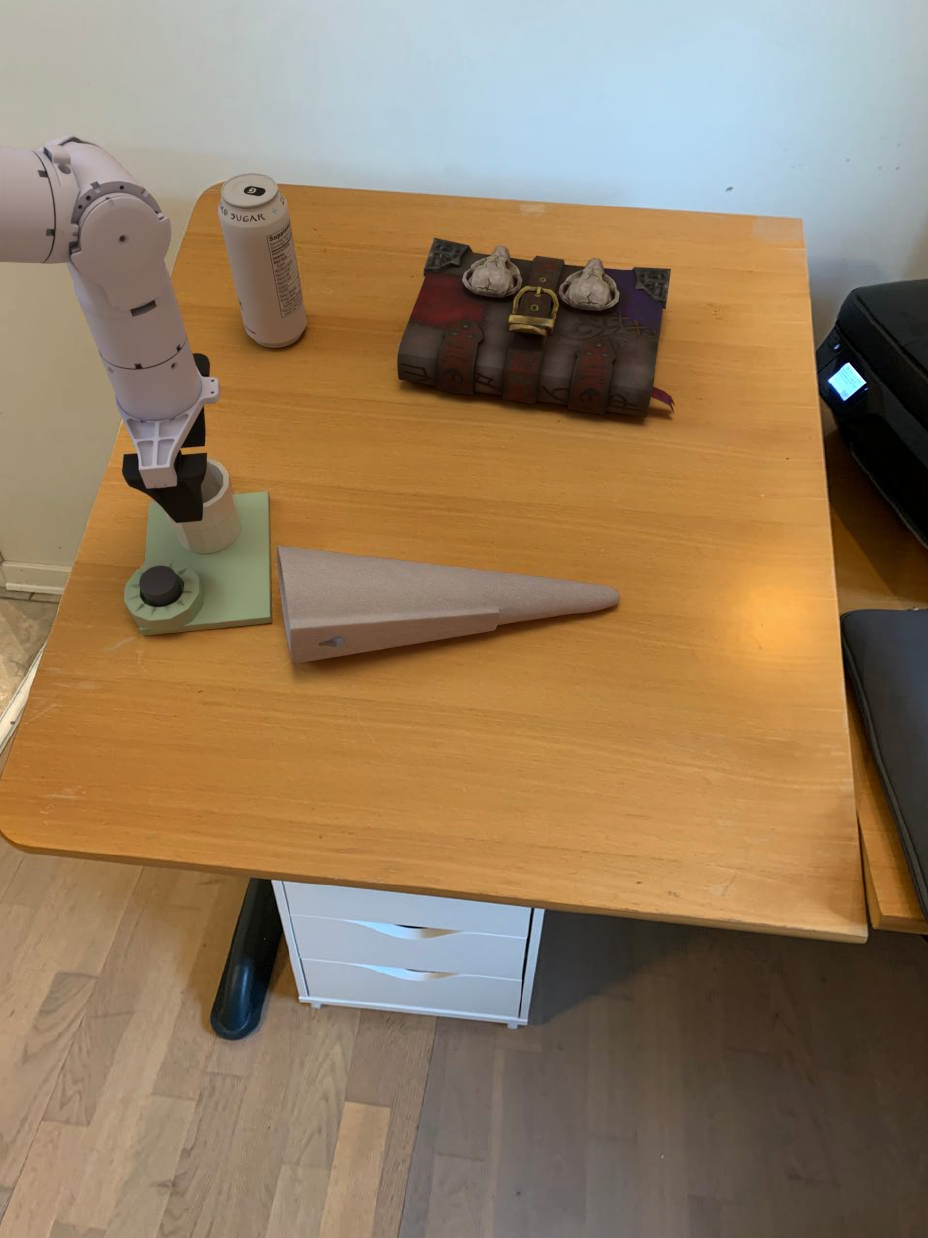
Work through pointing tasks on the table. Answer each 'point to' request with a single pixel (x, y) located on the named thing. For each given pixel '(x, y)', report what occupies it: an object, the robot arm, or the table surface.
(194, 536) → the cup
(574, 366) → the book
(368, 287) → the table surface
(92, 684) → the table surface
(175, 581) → the button
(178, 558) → the scale
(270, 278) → the energy drink can
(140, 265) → the robot arm
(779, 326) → the table surface
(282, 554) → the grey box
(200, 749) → the table surface
